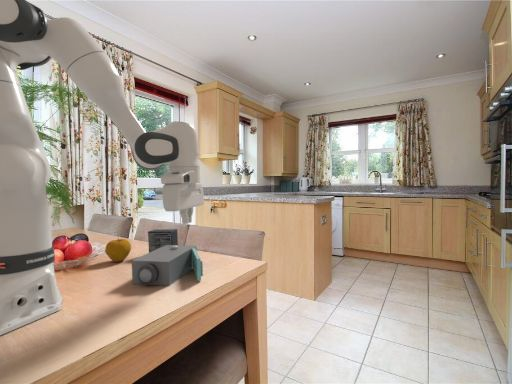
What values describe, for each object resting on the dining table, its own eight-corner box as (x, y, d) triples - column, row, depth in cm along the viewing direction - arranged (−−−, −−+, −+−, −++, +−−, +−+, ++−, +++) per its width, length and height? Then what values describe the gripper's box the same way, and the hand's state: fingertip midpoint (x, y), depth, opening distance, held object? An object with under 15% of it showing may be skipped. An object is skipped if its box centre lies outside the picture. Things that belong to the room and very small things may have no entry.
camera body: (165, 289, 75) (164, 261, 75) (127, 287, 77) (125, 260, 77) (197, 264, 97) (196, 243, 97) (166, 263, 99) (166, 242, 99)
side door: (203, 280, 80) (202, 258, 80) (197, 280, 80) (197, 258, 80) (197, 266, 94) (196, 247, 94) (192, 266, 93) (191, 248, 93)
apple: (114, 266, 98) (112, 241, 98) (100, 262, 103) (99, 239, 102) (136, 259, 106) (135, 237, 105) (122, 257, 110) (122, 235, 110)
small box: (179, 252, 115) (178, 228, 115) (172, 256, 109) (172, 231, 109) (155, 252, 116) (154, 228, 116) (148, 256, 110) (147, 231, 110)
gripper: (190, 178, 91) (191, 218, 92) (157, 177, 71) (159, 229, 71) (207, 177, 90) (209, 218, 90) (179, 176, 70) (181, 229, 70)
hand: (187, 223), depth 81 cm, fingers closed
